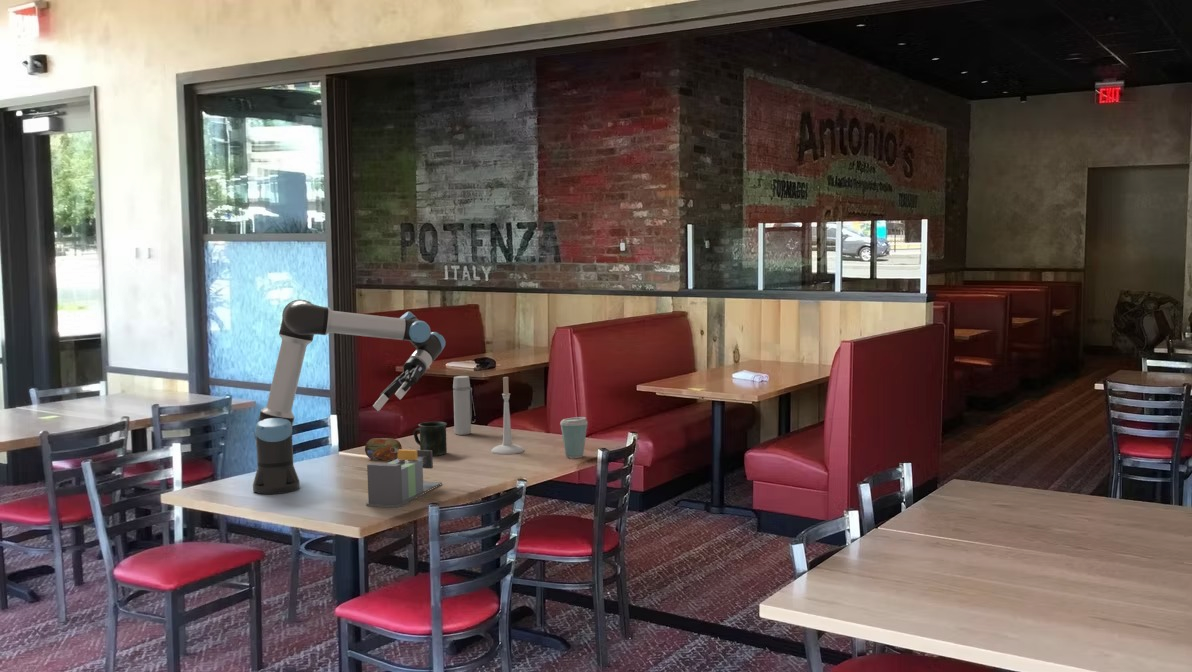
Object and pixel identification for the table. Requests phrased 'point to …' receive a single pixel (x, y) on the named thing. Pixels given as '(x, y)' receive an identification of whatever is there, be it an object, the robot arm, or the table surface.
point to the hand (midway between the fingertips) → (386, 402)
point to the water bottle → (462, 405)
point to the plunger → (424, 458)
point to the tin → (382, 448)
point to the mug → (432, 437)
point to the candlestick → (506, 427)
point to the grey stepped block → (396, 483)
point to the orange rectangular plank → (407, 454)
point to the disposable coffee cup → (574, 436)
